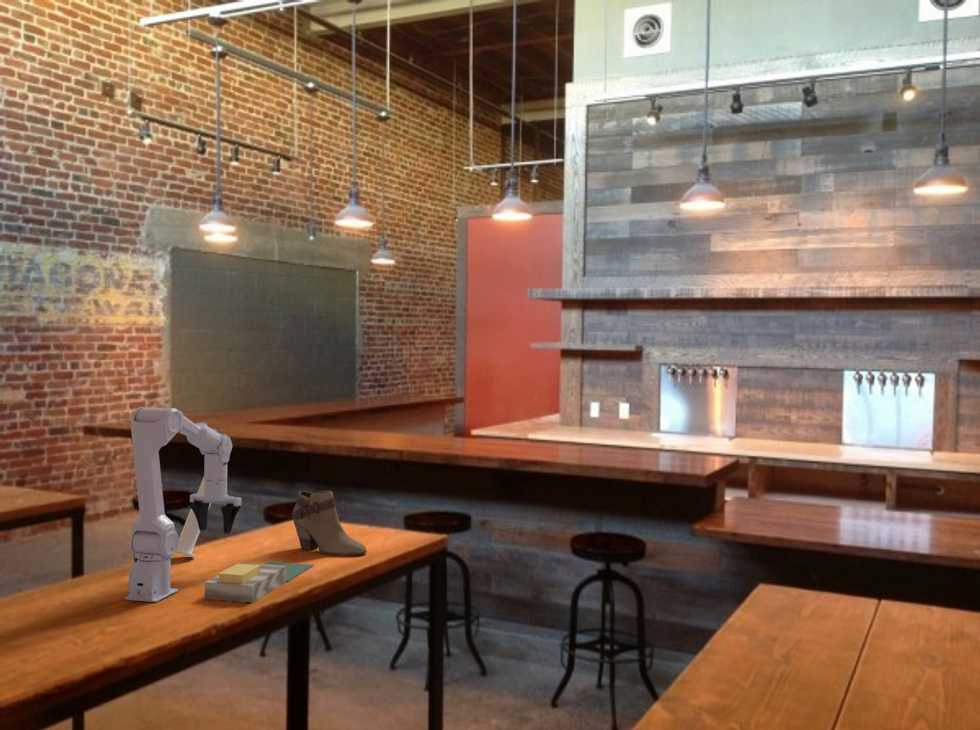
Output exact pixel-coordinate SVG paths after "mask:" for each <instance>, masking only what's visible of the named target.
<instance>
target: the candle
mask: <svg viewBox="0 0 980 730" xmlns="http://www.w3.org/2000/svg"><path fill="white" fill-rule="evenodd" d="M196 494H204V477H203V478H202V480H201V483H200V486H199V487H198V491H197V493H196ZM193 503H194V502H192V504H193ZM211 504H212V503H210V505H209V509H210V508H211ZM209 509H208V511H209ZM200 533H201V531H200V530H199V526H198V522H197V519H196V516H195V514H194V512H193V510H192V509H191V508H190V510H189V512H188V516H187V518H186V521H185V523H184V525H183V528H182V531H181V533H180V535H179V536H178V538H179V545H178V548H177V550H176V552H175V553H177V554H181V555H183V556H186V557H189V558H190V557H191V558H194V559H195V558H196V554H193V549H194V548H195V546H196V545H195V544H196V543H197V540H198V539H199V535H200Z"/></svg>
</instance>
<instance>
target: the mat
mask: <svg viewBox="0 0 980 730" xmlns="http://www.w3.org/2000/svg"><path fill="white" fill-rule="evenodd" d="M264 564H266V565H279V566H286V582H285V583H289V582H291V581H293V579H295V578H297V577H299V576H300V575H301V574H302V573H305V572H306V571H308V570H310V569H311V568H313V567H314V564H309V563H297V562H282V561H270V560H269V561H267V562H264Z"/></svg>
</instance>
